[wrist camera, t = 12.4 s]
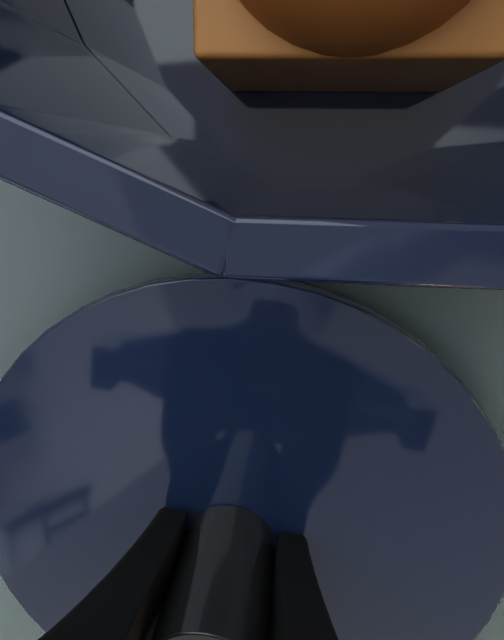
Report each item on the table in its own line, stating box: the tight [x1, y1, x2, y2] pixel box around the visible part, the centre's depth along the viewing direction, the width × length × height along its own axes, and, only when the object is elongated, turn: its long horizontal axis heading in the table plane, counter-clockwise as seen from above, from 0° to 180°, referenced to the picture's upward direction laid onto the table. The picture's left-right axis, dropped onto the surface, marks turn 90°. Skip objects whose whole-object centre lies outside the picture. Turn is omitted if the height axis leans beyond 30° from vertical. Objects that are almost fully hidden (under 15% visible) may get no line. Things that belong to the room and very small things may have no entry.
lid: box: [0, 273, 504, 640], centre depth 11 cm, size 14×14×4 cm
